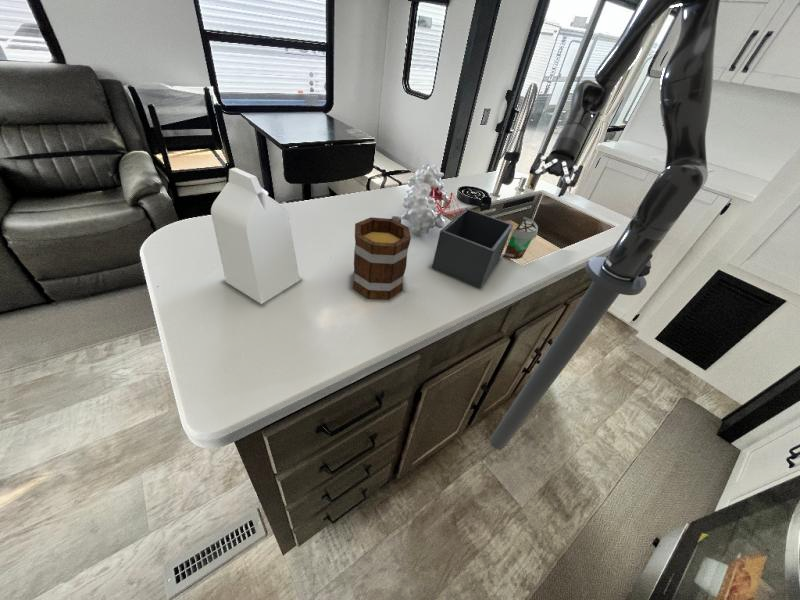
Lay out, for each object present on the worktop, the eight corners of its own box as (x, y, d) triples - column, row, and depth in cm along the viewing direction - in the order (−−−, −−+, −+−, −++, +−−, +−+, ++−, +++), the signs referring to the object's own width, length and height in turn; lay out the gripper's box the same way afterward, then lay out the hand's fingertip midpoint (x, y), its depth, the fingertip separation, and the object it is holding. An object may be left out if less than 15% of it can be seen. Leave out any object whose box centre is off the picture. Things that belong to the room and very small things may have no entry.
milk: (226, 282, 75) (193, 170, 58) (265, 261, 83) (247, 157, 66) (261, 304, 71) (237, 191, 54) (299, 280, 79) (289, 174, 62)
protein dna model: (449, 246, 115) (436, 184, 120) (476, 222, 98) (459, 151, 103) (397, 248, 108) (386, 182, 113) (417, 222, 91) (402, 147, 97)
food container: (521, 266, 97) (534, 237, 90) (501, 258, 99) (513, 229, 92) (531, 250, 105) (543, 222, 99) (513, 243, 107) (524, 215, 101)
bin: (499, 258, 99) (513, 224, 91) (479, 288, 86) (493, 251, 78) (456, 241, 103) (466, 207, 96) (431, 267, 90) (440, 230, 83)
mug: (394, 306, 76) (402, 253, 66) (342, 290, 78) (342, 236, 68) (415, 264, 91) (424, 215, 81) (371, 251, 93) (374, 202, 83)
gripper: (547, 130, 97) (524, 178, 97) (596, 143, 93) (572, 193, 93) (542, 144, 104) (521, 189, 104) (587, 157, 100) (565, 204, 100)
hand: (545, 191), depth 98 cm, fingers open, 8 cm apart
